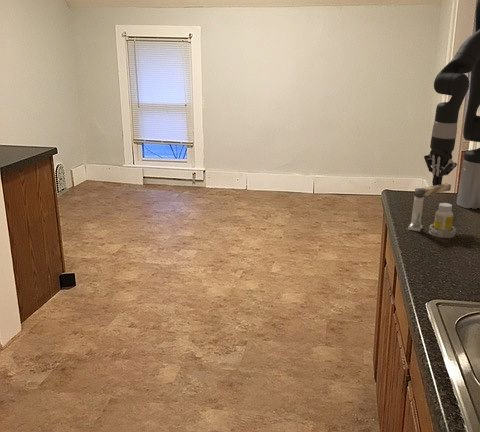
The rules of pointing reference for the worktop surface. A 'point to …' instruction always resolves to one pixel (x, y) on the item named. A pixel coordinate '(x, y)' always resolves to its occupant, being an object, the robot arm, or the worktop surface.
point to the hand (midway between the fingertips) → (436, 186)
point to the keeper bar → (432, 190)
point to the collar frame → (417, 227)
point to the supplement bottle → (443, 217)
